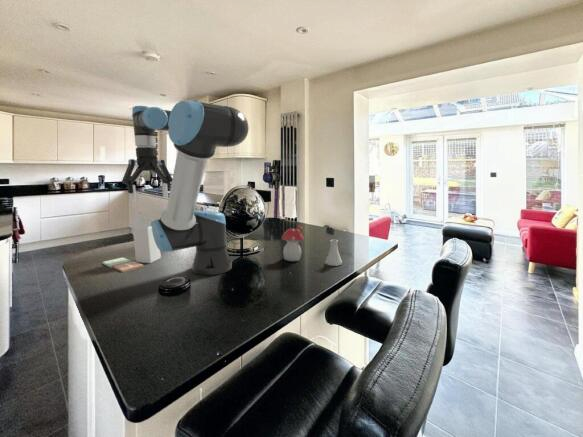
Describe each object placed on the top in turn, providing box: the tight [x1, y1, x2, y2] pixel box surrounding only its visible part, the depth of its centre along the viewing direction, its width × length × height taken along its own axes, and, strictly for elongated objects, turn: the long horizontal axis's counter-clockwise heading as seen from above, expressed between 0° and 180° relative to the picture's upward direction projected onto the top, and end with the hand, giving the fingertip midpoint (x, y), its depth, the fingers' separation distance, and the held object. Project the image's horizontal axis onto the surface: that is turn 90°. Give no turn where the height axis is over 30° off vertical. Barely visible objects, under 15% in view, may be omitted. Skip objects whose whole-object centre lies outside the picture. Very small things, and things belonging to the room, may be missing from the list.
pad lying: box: [113, 260, 144, 273], centre depth 120 cm, size 8×8×1 cm
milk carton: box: [132, 216, 162, 264], centre depth 127 cm, size 7×7×19 cm
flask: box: [324, 239, 343, 267], centre depth 123 cm, size 7×7×10 cm
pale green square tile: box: [102, 256, 132, 268], centre depth 125 cm, size 8×8×1 cm
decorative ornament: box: [281, 225, 304, 262], centre depth 128 cm, size 9×7×15 cm
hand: (150, 200), depth 123 cm, fingers open, 13 cm apart
